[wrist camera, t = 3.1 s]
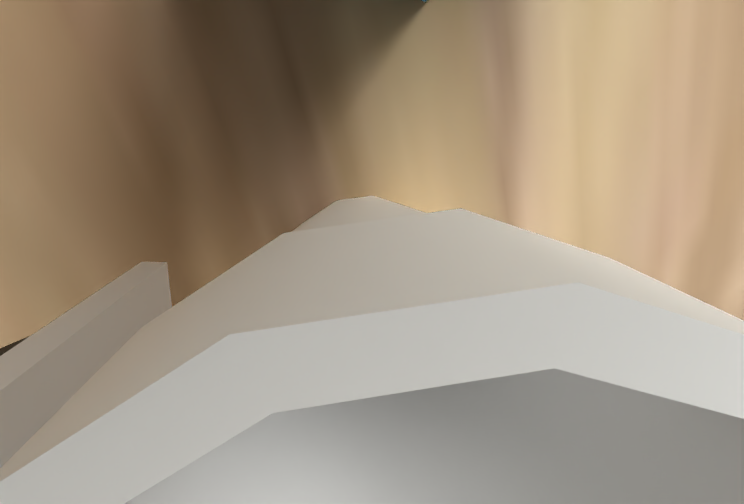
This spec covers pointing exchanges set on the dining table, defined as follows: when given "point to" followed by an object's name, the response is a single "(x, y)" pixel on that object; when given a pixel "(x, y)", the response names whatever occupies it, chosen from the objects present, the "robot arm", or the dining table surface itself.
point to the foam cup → (407, 379)
